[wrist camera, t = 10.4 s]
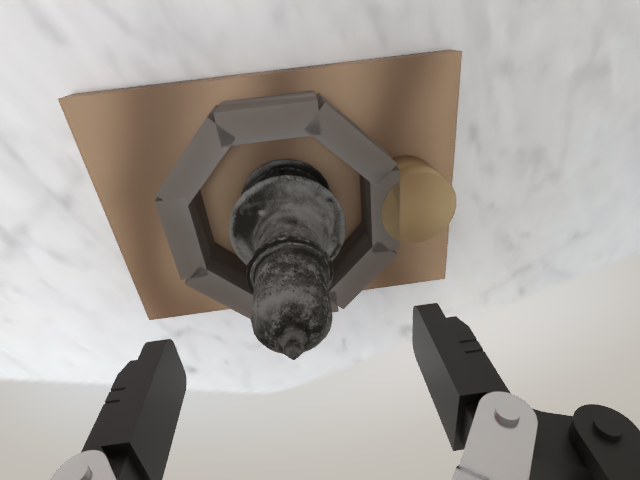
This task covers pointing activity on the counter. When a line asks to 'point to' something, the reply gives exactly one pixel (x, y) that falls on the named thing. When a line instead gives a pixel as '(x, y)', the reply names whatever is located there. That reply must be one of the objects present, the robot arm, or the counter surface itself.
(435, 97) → the board
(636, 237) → the counter surface
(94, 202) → the counter surface
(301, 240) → the salt shaker
